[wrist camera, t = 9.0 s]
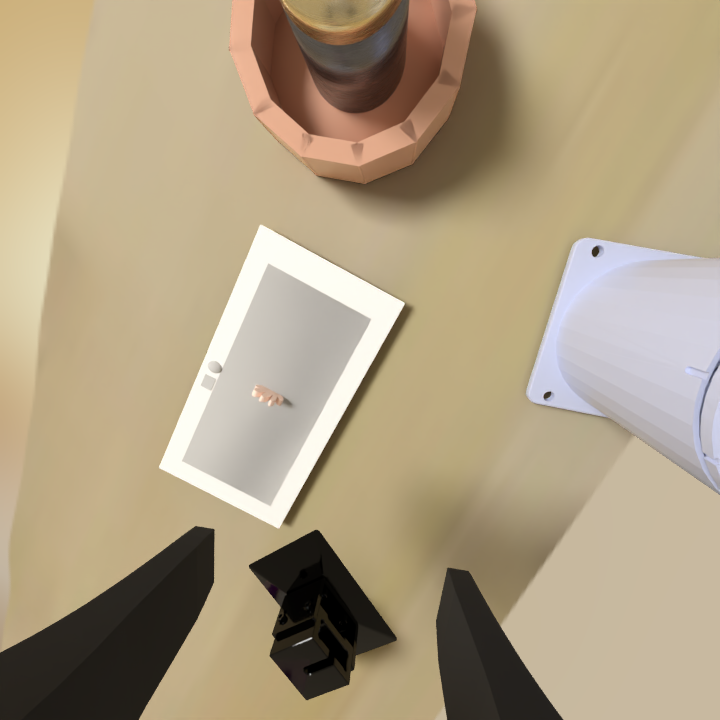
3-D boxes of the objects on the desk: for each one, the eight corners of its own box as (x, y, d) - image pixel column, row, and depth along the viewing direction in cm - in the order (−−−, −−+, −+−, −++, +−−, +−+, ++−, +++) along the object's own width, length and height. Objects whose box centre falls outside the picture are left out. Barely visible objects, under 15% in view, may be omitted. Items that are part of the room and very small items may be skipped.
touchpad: (404, 301, 18) (405, 305, 16) (284, 516, 22) (272, 542, 20) (268, 227, 18) (252, 221, 16) (170, 458, 22) (146, 478, 20)
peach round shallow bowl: (481, -35, 14) (503, -111, 12) (431, 196, 17) (440, 181, 14) (271, -65, 15) (241, -147, 12) (251, 164, 17) (222, 143, 14)
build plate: (419, 643, 24) (425, 728, 20) (329, 678, 25) (315, 764, 21) (316, 500, 22) (297, 559, 18) (225, 547, 23) (186, 611, 19)
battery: (417, 11, 14) (437, -198, 8) (392, 122, 15) (392, 17, 9) (319, -10, 14) (262, -233, 8) (301, 102, 15) (238, -17, 9)
